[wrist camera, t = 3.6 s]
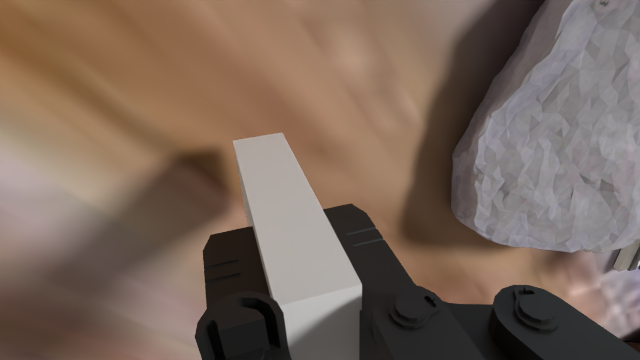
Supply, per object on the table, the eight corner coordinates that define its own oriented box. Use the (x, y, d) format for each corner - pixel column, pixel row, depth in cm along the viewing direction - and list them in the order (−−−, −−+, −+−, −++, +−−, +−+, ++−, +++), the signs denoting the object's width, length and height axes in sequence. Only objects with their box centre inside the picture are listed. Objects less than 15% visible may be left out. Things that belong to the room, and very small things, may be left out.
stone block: (412, 201, 20) (587, 215, 22) (448, 260, 16) (663, 273, 18) (489, -71, 15) (711, -29, 17) (571, -90, 11) (861, -30, 12)
